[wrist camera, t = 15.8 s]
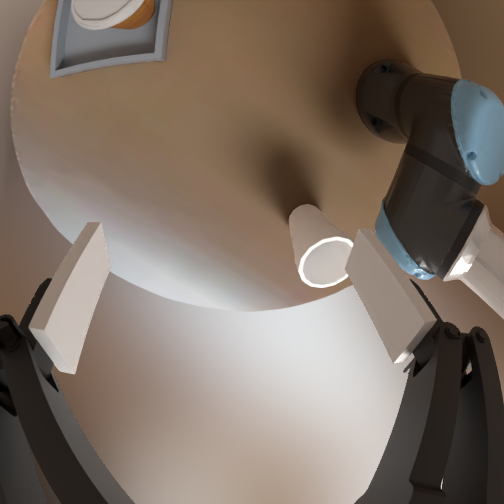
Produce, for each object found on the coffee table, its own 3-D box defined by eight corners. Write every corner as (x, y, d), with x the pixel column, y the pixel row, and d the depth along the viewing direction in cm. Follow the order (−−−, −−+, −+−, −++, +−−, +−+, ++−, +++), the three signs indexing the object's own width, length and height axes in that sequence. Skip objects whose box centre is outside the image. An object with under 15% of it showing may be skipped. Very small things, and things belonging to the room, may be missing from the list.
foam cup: (269, 222, 49) (285, 269, 38) (306, 186, 45) (334, 224, 35) (303, 248, 53) (324, 295, 43) (338, 217, 50) (368, 259, 39)
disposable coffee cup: (94, 18, 22) (54, 6, 13) (142, -24, 20) (117, -52, 10) (129, 50, 27) (95, 43, 18) (180, 8, 25) (165, -18, 15)
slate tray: (179, -37, 20) (177, -45, 17) (165, 60, 30) (161, 59, 27) (72, -16, 17) (63, -20, 14) (60, 76, 27) (49, 78, 24)
